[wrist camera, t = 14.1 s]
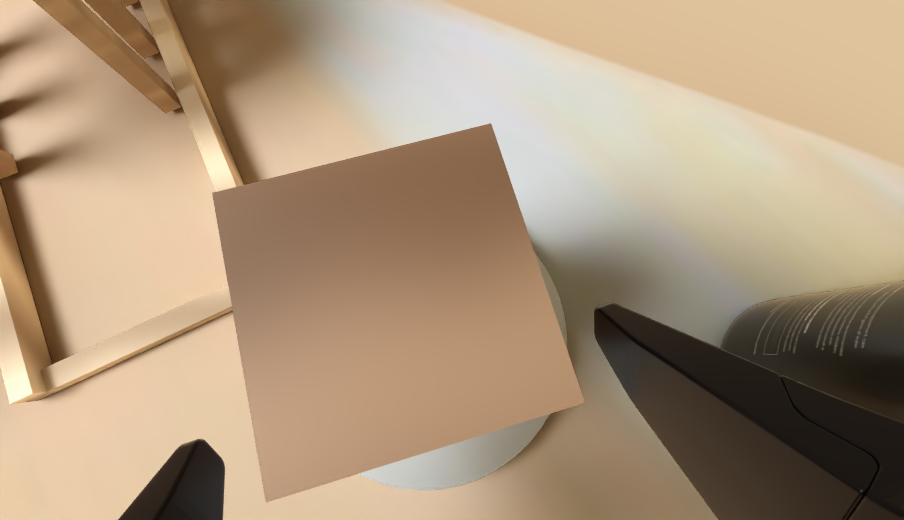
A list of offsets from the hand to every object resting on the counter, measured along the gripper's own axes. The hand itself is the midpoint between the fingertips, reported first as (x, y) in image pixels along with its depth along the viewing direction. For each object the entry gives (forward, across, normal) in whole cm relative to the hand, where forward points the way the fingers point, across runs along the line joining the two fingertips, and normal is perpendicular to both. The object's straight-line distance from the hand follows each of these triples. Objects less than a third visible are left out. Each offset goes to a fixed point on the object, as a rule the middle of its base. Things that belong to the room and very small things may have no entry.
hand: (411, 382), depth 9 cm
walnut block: (+7, 0, +5) cm, 8 cm away
